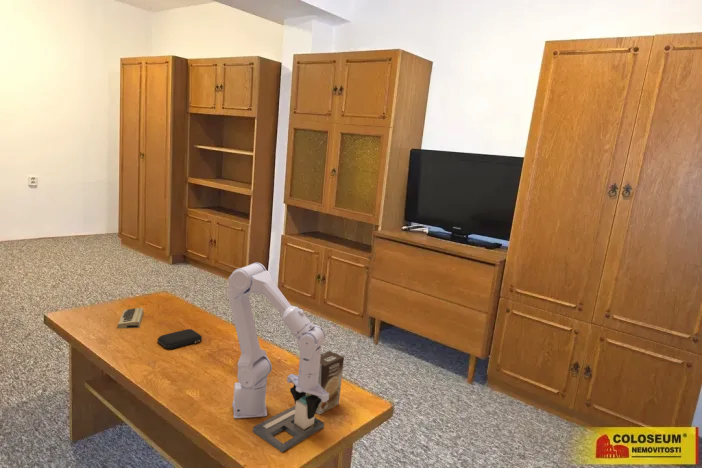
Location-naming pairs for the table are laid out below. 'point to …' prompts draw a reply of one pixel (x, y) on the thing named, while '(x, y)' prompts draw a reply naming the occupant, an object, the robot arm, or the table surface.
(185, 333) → the carrying case or bag
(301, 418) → the plug
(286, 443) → the panel
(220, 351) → the table surface
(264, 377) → the robot arm
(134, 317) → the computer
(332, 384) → the coffee box
